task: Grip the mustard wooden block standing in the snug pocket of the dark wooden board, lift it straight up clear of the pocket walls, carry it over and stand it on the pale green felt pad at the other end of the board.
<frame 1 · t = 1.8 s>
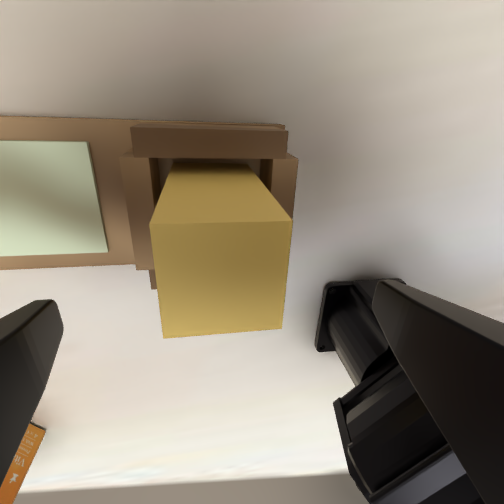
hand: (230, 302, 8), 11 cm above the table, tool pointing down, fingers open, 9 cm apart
block: (211, 199, 17), point 1 cm above the table, touching board
board: (132, 194, 17), on the table
pocket: (210, 194, 18), resting on board
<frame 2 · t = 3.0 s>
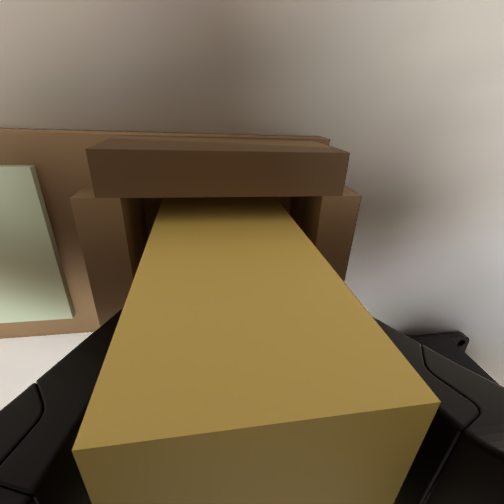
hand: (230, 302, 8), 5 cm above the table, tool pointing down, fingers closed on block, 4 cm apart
block: (220, 243, 12), point 1 cm above the table, touching board, gripper
board: (107, 236, 12), on the table
pocket: (218, 233, 13), resting on board
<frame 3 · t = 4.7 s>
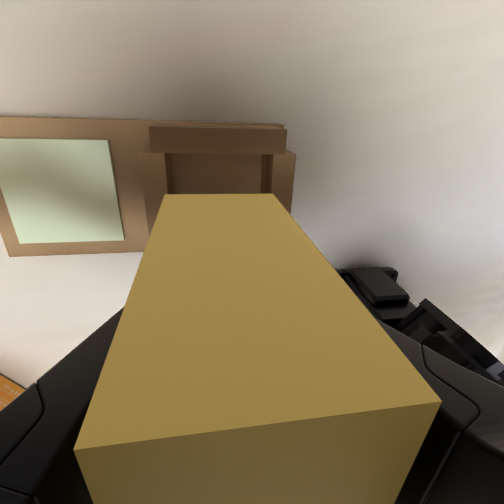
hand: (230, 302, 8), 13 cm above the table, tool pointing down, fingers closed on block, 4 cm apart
block: (220, 242, 12), point 9 cm above the table, touching gripper
board: (146, 188, 19), on the table
pocket: (216, 187, 20), resting on board
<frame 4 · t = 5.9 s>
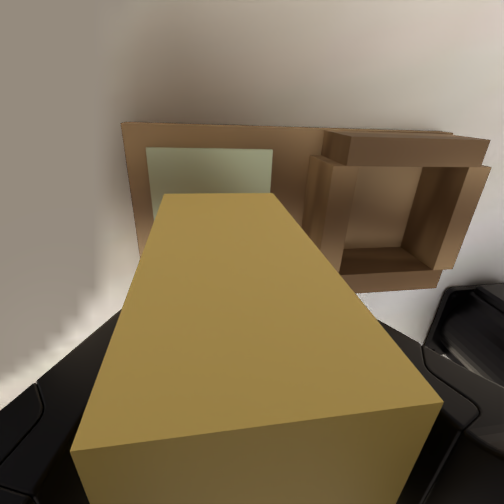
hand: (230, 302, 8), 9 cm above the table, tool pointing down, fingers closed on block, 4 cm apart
block: (220, 242, 12), point 5 cm above the table, touching gripper
board: (289, 201, 17), on the table
pocket: (360, 200, 18), resting on board
when the fingers open (6 cm above the table, at t = 6.7 s): block stays where it is, resting on board.
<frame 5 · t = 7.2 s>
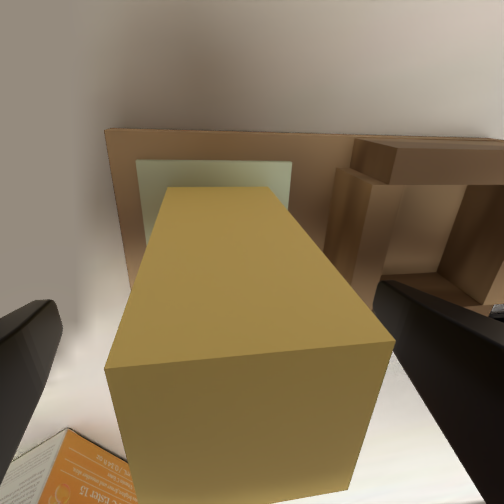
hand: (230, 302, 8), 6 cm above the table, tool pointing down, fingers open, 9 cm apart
block: (219, 232, 13), point 1 cm above the table, touching board
board: (308, 220, 15), on the table
small box: (81, 469, 21), on the table
pocket: (391, 218, 15), resting on board
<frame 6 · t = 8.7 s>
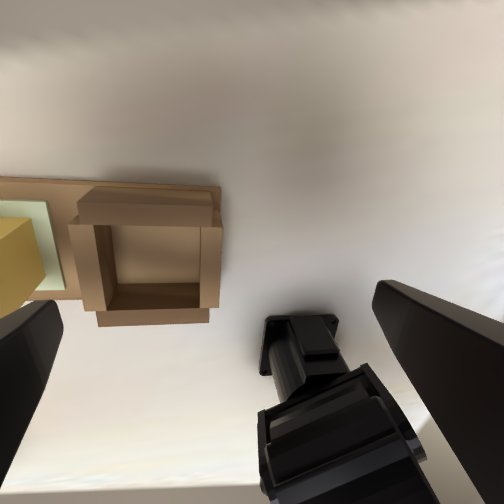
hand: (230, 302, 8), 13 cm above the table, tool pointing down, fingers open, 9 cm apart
block: (1, 248, 18), point 1 cm above the table, touching board
board: (88, 240, 20), on the table
pocket: (159, 241, 21), resting on board
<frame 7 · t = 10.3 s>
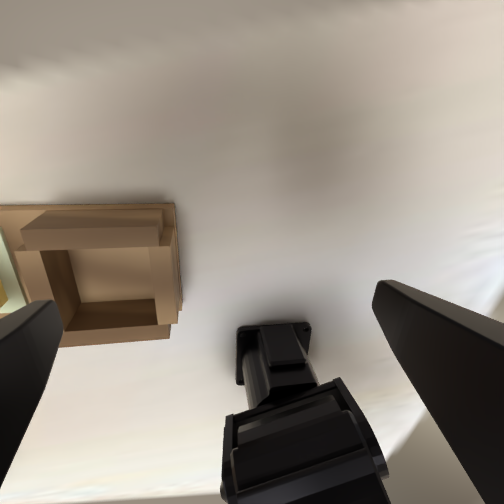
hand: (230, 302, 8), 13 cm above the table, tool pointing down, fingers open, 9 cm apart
board: (49, 262, 20), on the table
pocket: (120, 259, 21), resting on board
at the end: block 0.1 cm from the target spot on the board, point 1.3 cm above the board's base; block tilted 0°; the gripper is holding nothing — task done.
